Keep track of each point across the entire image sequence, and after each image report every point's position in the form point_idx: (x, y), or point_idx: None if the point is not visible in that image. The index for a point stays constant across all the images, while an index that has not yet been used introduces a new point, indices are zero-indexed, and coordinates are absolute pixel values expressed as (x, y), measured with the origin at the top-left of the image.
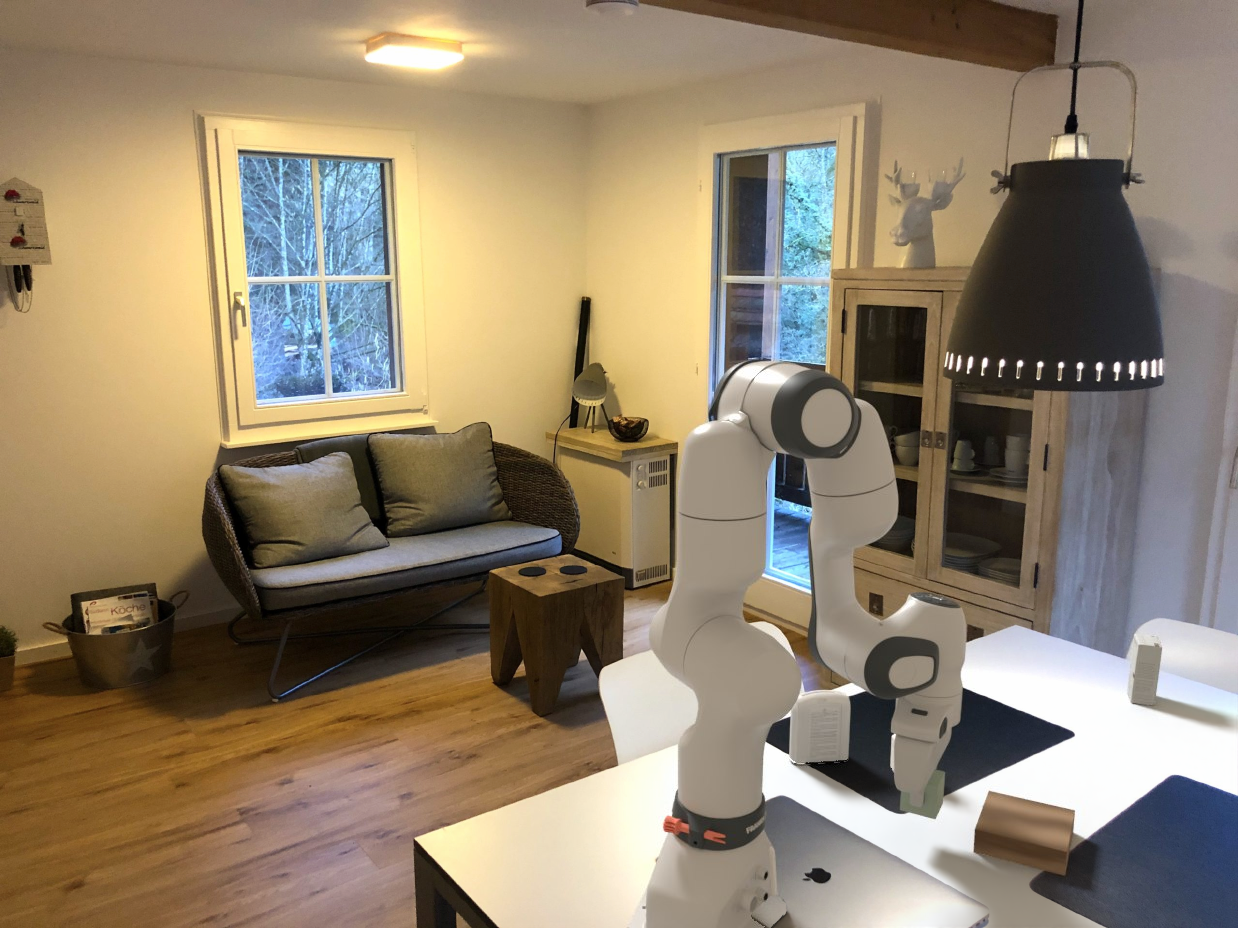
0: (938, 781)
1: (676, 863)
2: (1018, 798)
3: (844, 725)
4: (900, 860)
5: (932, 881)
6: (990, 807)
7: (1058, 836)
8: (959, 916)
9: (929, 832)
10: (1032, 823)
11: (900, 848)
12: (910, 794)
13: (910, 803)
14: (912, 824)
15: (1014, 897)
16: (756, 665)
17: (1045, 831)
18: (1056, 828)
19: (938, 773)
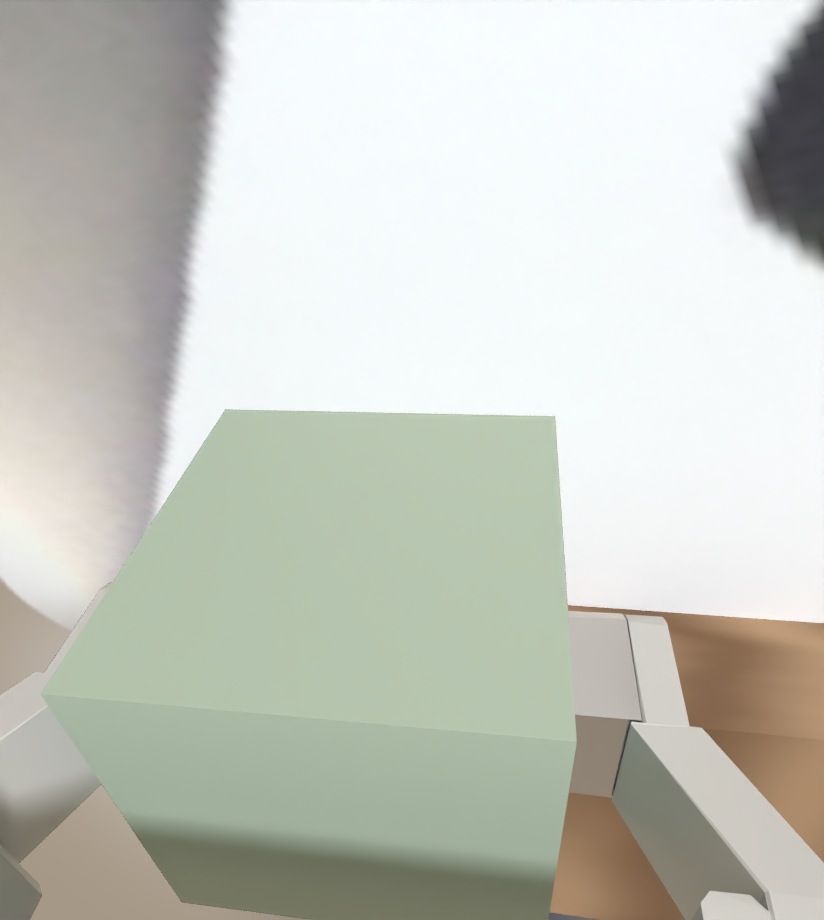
0: (289, 907)
1: None
2: None
3: None
4: (165, 331)
5: (122, 488)
6: (733, 754)
7: (560, 896)
8: (9, 585)
9: (546, 413)
10: (632, 854)
11: (277, 303)
12: (57, 658)
13: (110, 585)
14: (602, 305)
15: None
16: None
17: (580, 875)
18: (625, 899)
19: (466, 915)
